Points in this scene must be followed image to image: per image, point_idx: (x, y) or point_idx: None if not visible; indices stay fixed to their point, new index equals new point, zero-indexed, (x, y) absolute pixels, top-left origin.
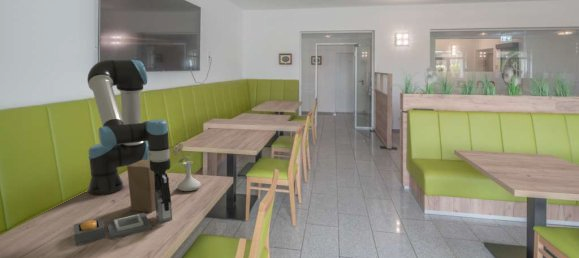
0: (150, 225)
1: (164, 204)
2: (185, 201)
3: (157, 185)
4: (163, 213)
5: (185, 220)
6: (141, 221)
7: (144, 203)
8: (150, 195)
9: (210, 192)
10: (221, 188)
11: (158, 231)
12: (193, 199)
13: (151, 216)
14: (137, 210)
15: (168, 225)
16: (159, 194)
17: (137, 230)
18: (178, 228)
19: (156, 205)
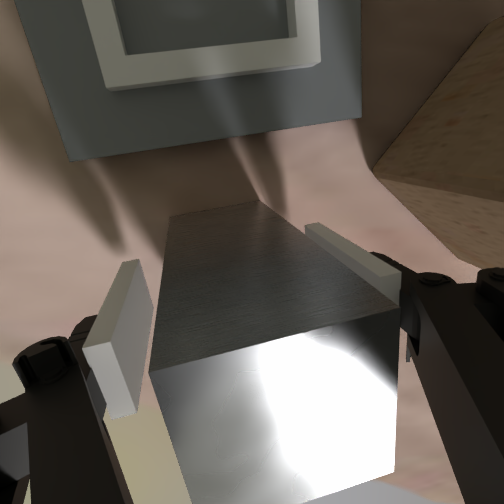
0: (81, 151)
1: (78, 360)
2: (410, 363)
3: (478, 421)
4: (114, 285)
5: (144, 369)
6: (139, 72)
7: (457, 123)
8: (489, 194)
9: (441, 463)
10: (453, 499)
11: (12, 205)
12: (410, 398)
13: (305, 166)
14: (452, 68)
15: (101, 274)
16: (158, 398)
17: (27, 27)
18: (28, 333)
19: (246, 241)
